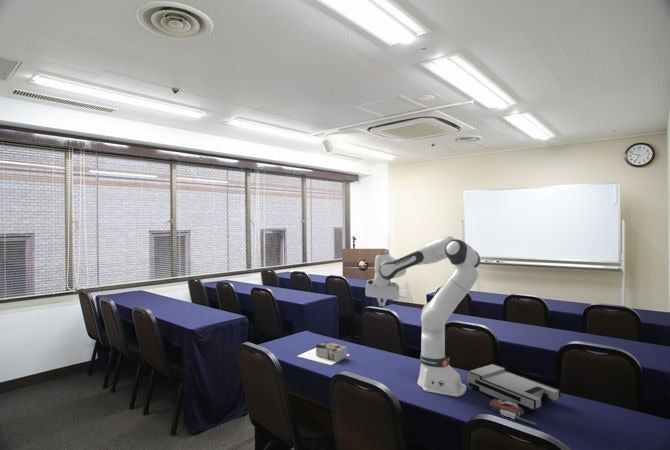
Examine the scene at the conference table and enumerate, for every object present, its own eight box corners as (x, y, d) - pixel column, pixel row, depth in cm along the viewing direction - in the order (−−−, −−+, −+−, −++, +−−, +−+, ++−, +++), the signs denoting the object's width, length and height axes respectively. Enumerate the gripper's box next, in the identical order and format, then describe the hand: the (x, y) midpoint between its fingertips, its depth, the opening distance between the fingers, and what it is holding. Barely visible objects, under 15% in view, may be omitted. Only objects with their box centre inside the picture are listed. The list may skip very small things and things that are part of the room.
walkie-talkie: (483, 410, 154) (536, 429, 140) (484, 400, 154) (536, 417, 140) (492, 404, 161) (543, 421, 146) (492, 393, 161) (543, 410, 146)
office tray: (533, 418, 148) (533, 398, 148) (467, 389, 175) (467, 371, 175) (560, 406, 159) (560, 386, 159) (493, 380, 186) (494, 363, 186)
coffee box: (337, 350, 206) (315, 344, 216) (337, 362, 206) (315, 355, 216) (347, 346, 214) (325, 341, 223) (347, 357, 214) (325, 351, 223)
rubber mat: (350, 355, 219) (350, 354, 219) (331, 365, 202) (331, 364, 202) (317, 347, 232) (317, 347, 232) (297, 356, 215) (297, 355, 215)
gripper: (401, 282, 208) (401, 307, 208) (369, 279, 219) (368, 302, 219) (396, 284, 203) (396, 309, 203) (364, 280, 214) (363, 304, 214)
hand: (381, 306), depth 211 cm, fingers closed
